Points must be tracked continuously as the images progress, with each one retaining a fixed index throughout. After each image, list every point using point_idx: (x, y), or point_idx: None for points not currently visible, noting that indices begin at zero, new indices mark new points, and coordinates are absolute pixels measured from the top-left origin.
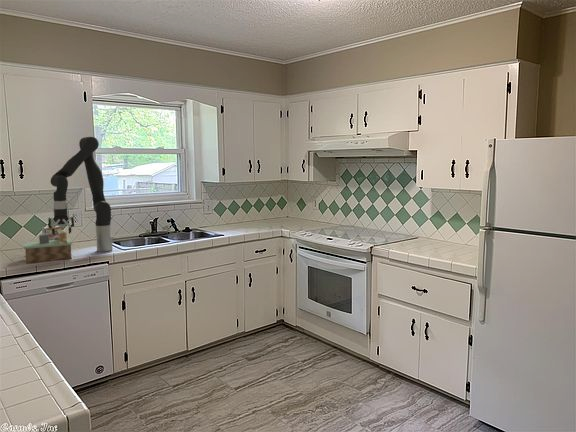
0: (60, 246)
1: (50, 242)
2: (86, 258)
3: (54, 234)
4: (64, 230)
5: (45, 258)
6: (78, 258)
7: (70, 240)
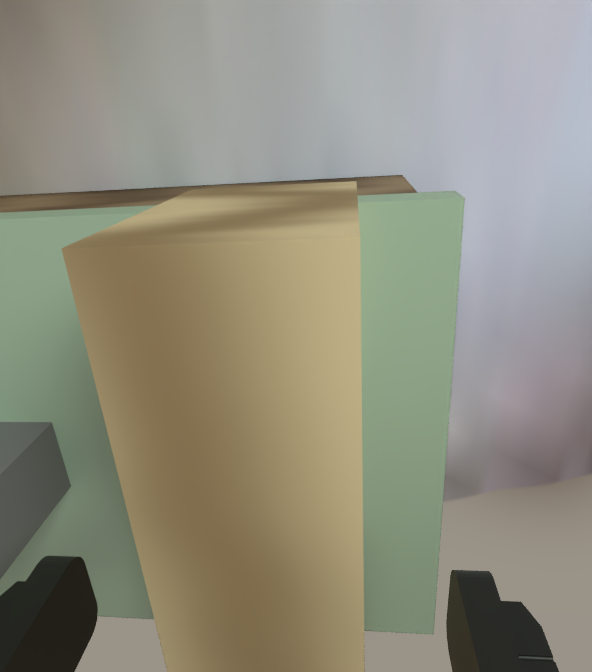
0: None
1: (83, 449)
2: (550, 482)
3: (89, 619)
4: (334, 392)
5: None
6: (470, 444)
7: (447, 415)
